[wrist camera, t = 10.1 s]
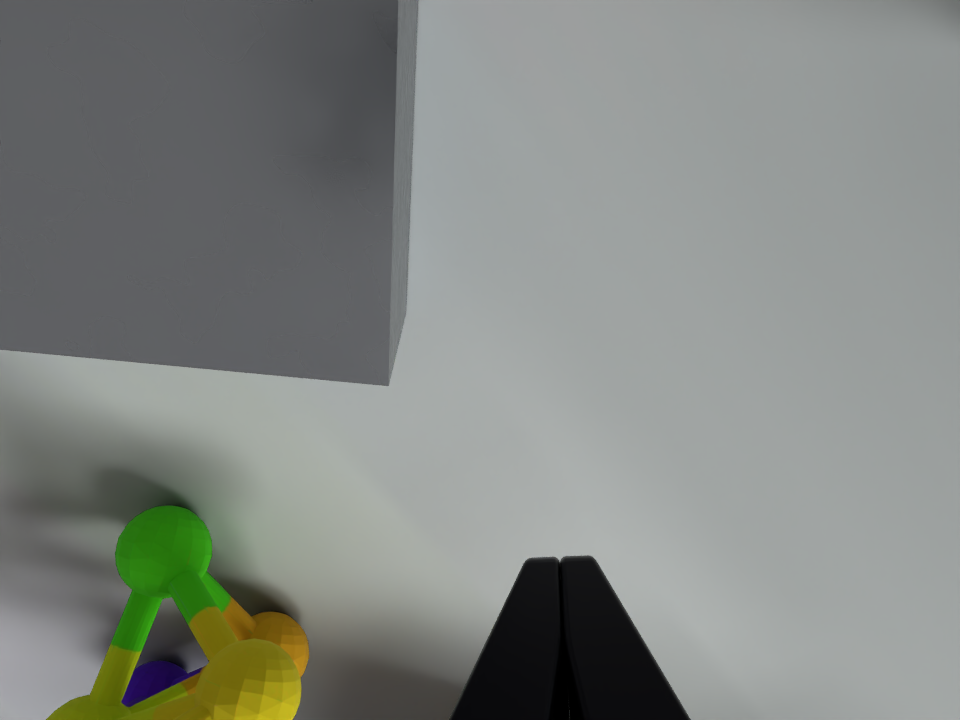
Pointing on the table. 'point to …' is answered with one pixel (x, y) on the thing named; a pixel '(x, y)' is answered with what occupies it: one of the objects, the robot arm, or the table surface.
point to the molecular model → (215, 624)
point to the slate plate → (208, 182)
